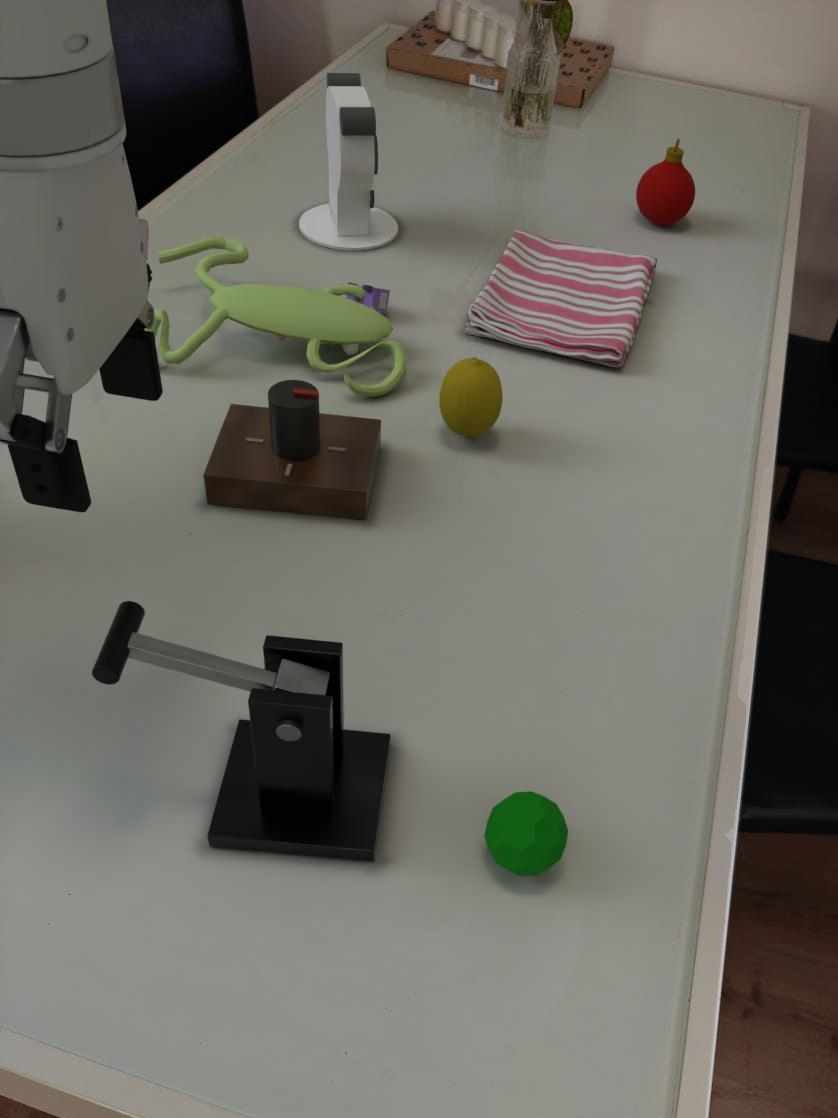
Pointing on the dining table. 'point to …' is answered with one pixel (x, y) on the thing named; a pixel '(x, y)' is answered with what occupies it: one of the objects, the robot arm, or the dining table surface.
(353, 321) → the figurine
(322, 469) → the panel
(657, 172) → the christmas ornament
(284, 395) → the valve knob
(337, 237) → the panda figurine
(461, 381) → the lemon
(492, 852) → the polyhedron
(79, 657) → the dining table surface
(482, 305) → the dish towel
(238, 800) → the black lever base
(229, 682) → the tap lever
